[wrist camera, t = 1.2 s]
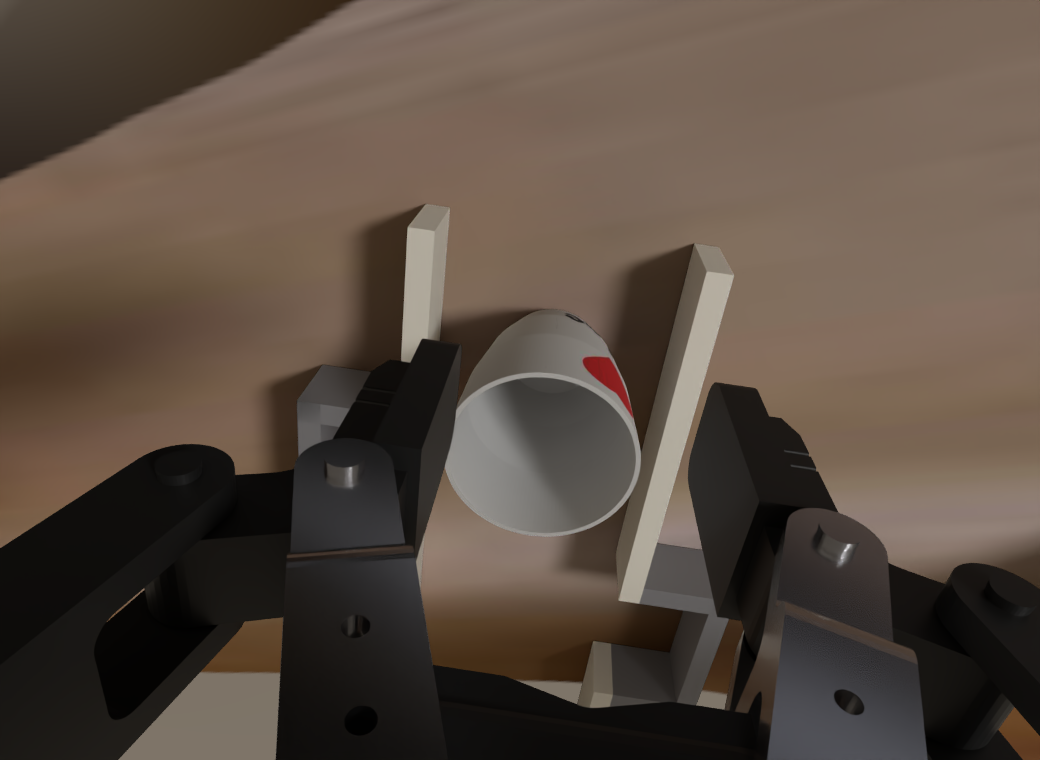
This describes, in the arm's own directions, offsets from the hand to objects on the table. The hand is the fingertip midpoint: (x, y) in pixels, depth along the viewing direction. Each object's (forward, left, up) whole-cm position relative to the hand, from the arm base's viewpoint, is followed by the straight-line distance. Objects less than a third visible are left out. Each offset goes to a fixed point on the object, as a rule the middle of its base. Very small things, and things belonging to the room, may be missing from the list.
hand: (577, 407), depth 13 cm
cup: (0, +10, -23) cm, 25 cm away
